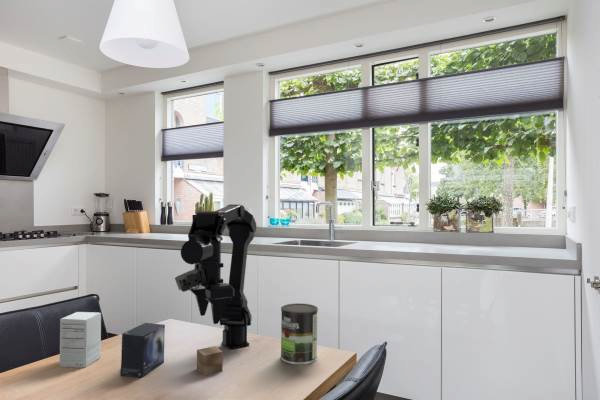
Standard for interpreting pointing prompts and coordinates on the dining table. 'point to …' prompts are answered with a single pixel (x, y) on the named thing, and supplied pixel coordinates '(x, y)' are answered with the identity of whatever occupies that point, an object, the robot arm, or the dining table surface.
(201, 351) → the walnut cube
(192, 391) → the dining table surface
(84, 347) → the supplement box
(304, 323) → the coffee can
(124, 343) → the small box
